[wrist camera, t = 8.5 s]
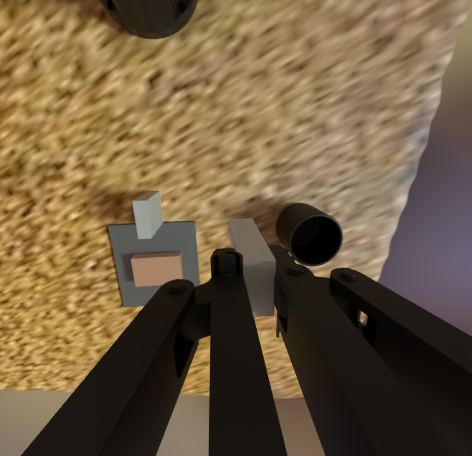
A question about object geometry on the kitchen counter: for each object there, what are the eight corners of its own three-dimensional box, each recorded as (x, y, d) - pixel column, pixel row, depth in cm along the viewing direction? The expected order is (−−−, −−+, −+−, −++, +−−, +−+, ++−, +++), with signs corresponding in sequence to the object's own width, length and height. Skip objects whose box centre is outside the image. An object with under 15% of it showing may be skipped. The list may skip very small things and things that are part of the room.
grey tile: (147, 191, 43) (130, 201, 35) (159, 191, 43) (146, 200, 35) (151, 222, 45) (137, 239, 36) (163, 222, 45) (151, 238, 37)
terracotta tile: (181, 251, 47) (134, 254, 46) (179, 256, 44) (130, 258, 44) (183, 278, 48) (139, 280, 48) (182, 283, 46) (135, 286, 46)
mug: (258, 242, 48) (268, 261, 40) (294, 193, 46) (313, 202, 37) (293, 263, 50) (310, 286, 42) (329, 218, 48) (354, 233, 39)
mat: (109, 224, 44) (108, 225, 44) (194, 221, 46) (194, 221, 45) (125, 305, 50) (124, 307, 49) (200, 300, 51) (200, 301, 50)
